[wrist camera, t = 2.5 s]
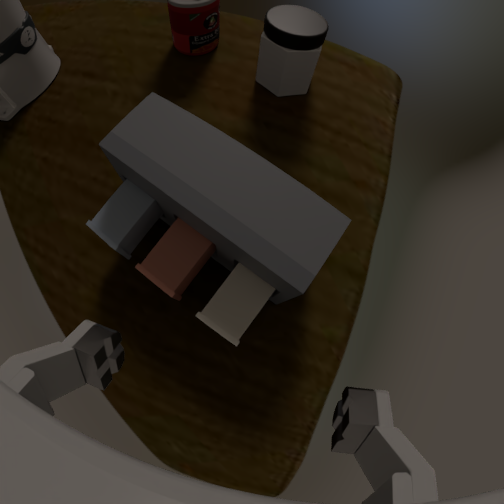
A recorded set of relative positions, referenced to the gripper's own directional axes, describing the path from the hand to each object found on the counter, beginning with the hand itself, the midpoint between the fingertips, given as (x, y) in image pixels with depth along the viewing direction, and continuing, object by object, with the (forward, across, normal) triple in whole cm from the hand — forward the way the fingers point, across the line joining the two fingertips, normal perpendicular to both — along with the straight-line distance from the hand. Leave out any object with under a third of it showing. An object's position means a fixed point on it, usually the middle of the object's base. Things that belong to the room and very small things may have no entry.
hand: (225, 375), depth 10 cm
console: (+26, +8, +5) cm, 27 cm away
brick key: (+20, +9, +7) cm, 23 cm away
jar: (+42, +5, -15) cm, 45 cm away
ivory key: (+19, +3, +9) cm, 21 cm away
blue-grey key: (+21, +16, +4) cm, 26 cm away
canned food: (+44, +20, -20) cm, 52 cm away
